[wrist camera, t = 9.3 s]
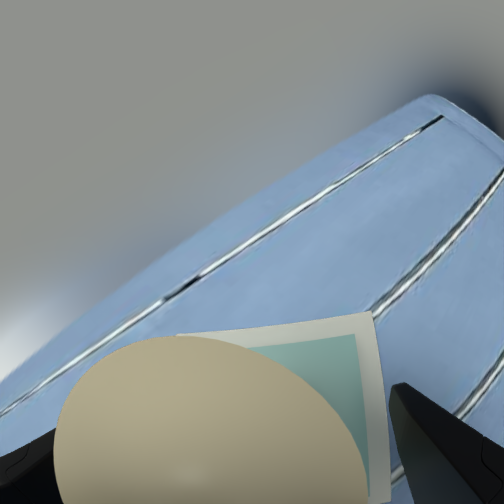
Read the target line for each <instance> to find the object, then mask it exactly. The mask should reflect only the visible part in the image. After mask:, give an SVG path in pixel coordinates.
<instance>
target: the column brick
mask: <svg viewBox="0 0 504 504" xmlns="http://www.w3.org/2000/svg"><path fill="white" fill-rule="evenodd" d="M54 468H55V475H56V481H57V484H58V488H59V492H60V495H61V498H62V501H63V503H64V504H368V487H367V478H366V472H365V468H364V465H363V461H362V458H361V454H360V452H359V450H358V448H357V446H356V443H355V441H354V439H353V437H352V435H351V433H350V431H349V430H348V428H347V427H346V425H345V424H344V422H343V421H342V419H341V418H340V416H339V415H338V413H337V412H336V411H335V410H334V409H333V408H332V407H331V406H330V404H329V403H328V402H327V401H326V400H325V399H324V398H323V397H322V395H320V394H319V393H318V392H317V391H316V390H315V389H314V388H312V387H311V386H310V385H309V384H308V383H307V382H306V381H304V380H303V379H302V378H300V377H299V376H297V375H296V374H295V373H293V372H292V371H290V370H289V369H287V368H286V367H284V366H283V365H281V364H279V363H277V362H275V361H273V360H271V359H270V358H268V357H266V356H264V355H262V354H260V353H257V352H255V351H252V350H250V349H247V348H244V347H242V346H239V345H236V344H232V343H228V342H224V341H221V340H217V339H210V338H203V337H196V336H167V337H157V338H151V339H147V340H143V341H139V342H135V343H132V344H130V345H127V346H125V347H122V348H120V349H118V350H116V351H114V352H112V353H111V354H109V355H107V356H105V357H104V358H102V359H101V360H100V361H98V362H97V363H96V364H94V365H93V366H92V367H91V368H90V369H89V370H88V371H87V372H86V373H85V374H84V375H83V376H82V377H81V378H80V379H79V381H78V382H77V383H76V385H75V386H74V387H73V389H72V390H71V392H70V394H69V395H68V397H67V399H66V401H65V403H64V405H63V408H62V410H61V413H60V416H59V418H58V422H57V427H56V431H55V439H54Z"/></svg>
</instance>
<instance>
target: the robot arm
mask: <svg viewBox="0 0 504 504" xmlns="http://www.w3.org/2000/svg"><path fill="white" fill-rule="evenodd" d="M389 412H390V416H391V421H392V425H393V430H394V434H395V439H396V444H397V449H398V453H399V456H400V459H401V462H402V465H403V468H404V471H405V474H406V477H407V480H408V484H409V487H410V490H411V493H412V497H413V500H414V503H415V504H504V448H503V447H501V446H500V445H498V444H496V443H495V442H493V441H492V440H490V439H489V438H487V437H485V436H484V437H483V435H482V434H481V433H479V432H478V431H476V430H475V429H473V428H472V427H470V426H469V425H467V424H466V423H464V422H463V421H461V420H460V419H458V418H457V417H455V416H454V415H452V414H451V413H449V412H448V411H446V410H445V409H444V408H442V407H441V406H439V405H438V404H436V403H435V402H433V401H432V400H430V399H429V398H427V397H426V396H424V395H423V394H422V393H420V392H419V391H417V390H416V389H414V388H413V387H411V386H410V385H409V384H407V383H405V382H403V383H399V384H395V385H393V386H392V388H391V393H390V399H389ZM55 431H56V428H54V429H53V430H51V431H49V432H48V433H46V434H44V435H42V436H41V437H39V438H37V439H35V440H33V441H32V442H31V443H28V444H26V445H24V446H23V447H21V448H19V449H17V450H15V451H13V452H11V453H8V454H6V455H4V456H2V457H0V504H64V503H63V501H62V498H61V495H60V492H59V488H58V484H57V481H56V475H55V468H54V439H55Z"/></svg>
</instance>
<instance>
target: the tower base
mask: <svg viewBox="0 0 504 504" xmlns="http://www.w3.org/2000/svg"><path fill="white" fill-rule="evenodd" d="M176 336H196V337H203V338H210V339H217V340H221V341H224V342H228V343H232V344H236V345H239V346H242V347H244V348H247V349H250V350H252V351H255V352H257V353H260V354H262V355H264V356H266V357H268V358H270V359H271V360H273V361H275V362H277V363H279V364H281V365H283V366H284V367H286V368H287V369H289V370H290V371H292V372H293V373H295V374H296V375H297V376H299V377H300V378H302V379H303V380H304V381H306V382H307V383H308V384H309V385H310V386H311V387H312V388H314V389H315V390H316V391H317V392H318V393H319V394H320V395H322V397H323V398H324V399H325V400H326V401H327V402H328V403H329V404H330V406H331V407H332V408H333V409H334V410H335V411H336V412H337V413H338V415H339V416H340V418H341V419H342V421H343V422H344V424H345V425H346V427H347V428H348V430H349V431H350V433H351V435H352V437H353V439H354V441H355V443H356V446H357V448H358V450H359V452H360V454H361V458H362V461H363V465H364V468H365V472H366V478H367V487H368V504H381V503H385V502H389V501H391V465H390V446H389V432H388V421H387V410H386V401H385V393H384V385H383V377H382V370H381V363H380V357H379V351H378V345H377V339H376V333H375V328H374V322H373V317H372V312H371V311H367V312H361V313H356V314H350V315H344V316H338V317H332V318H325V319H318V320H312V321H304V322H297V323H289V324H282V325H273V326H265V327H256V328H246V329H236V330H225V331H213V332H200V333H185V334H176Z"/></svg>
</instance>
